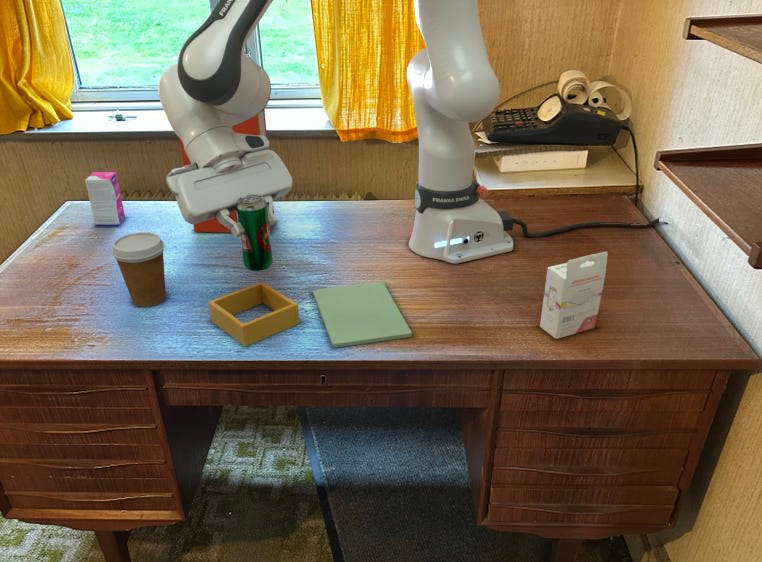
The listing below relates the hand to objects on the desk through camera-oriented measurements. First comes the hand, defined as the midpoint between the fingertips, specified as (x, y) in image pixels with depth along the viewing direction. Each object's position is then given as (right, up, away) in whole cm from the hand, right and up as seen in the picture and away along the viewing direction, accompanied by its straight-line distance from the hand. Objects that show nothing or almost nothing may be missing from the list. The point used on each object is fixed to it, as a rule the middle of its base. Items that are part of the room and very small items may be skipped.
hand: (256, 229), depth 112 cm
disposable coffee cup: (-23, -10, +19) cm, 31 cm away
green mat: (+17, -13, +12) cm, 25 cm away
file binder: (-12, +10, +47) cm, 49 cm away
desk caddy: (-2, -15, +10) cm, 18 cm away
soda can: (0, -6, +4) cm, 7 cm away
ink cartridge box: (+53, -16, +6) cm, 56 cm away
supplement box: (-42, +11, +51) cm, 67 cm away
